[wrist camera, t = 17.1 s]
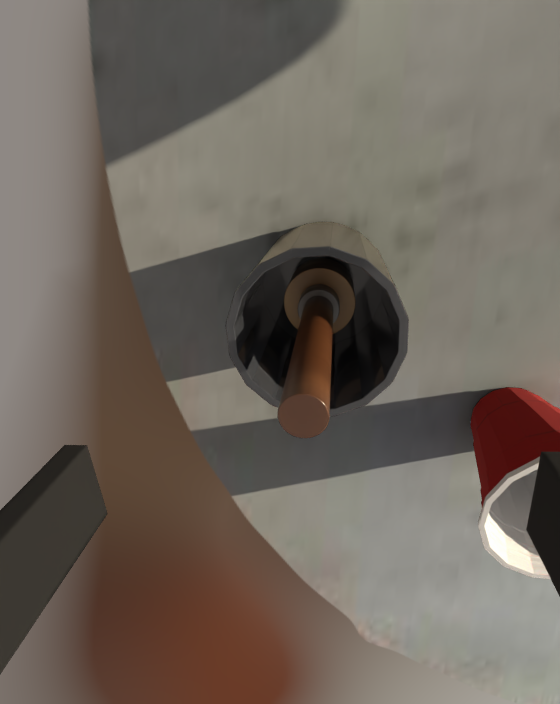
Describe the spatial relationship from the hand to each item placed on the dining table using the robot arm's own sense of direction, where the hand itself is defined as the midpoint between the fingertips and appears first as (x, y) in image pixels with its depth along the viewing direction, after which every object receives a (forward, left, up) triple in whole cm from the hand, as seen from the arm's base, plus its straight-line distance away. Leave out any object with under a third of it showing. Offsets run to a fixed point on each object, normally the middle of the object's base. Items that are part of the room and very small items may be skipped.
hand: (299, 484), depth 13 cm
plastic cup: (-15, +12, -23) cm, 30 cm away
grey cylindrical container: (0, 0, -23) cm, 23 cm away
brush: (0, 0, -23) cm, 23 cm away
